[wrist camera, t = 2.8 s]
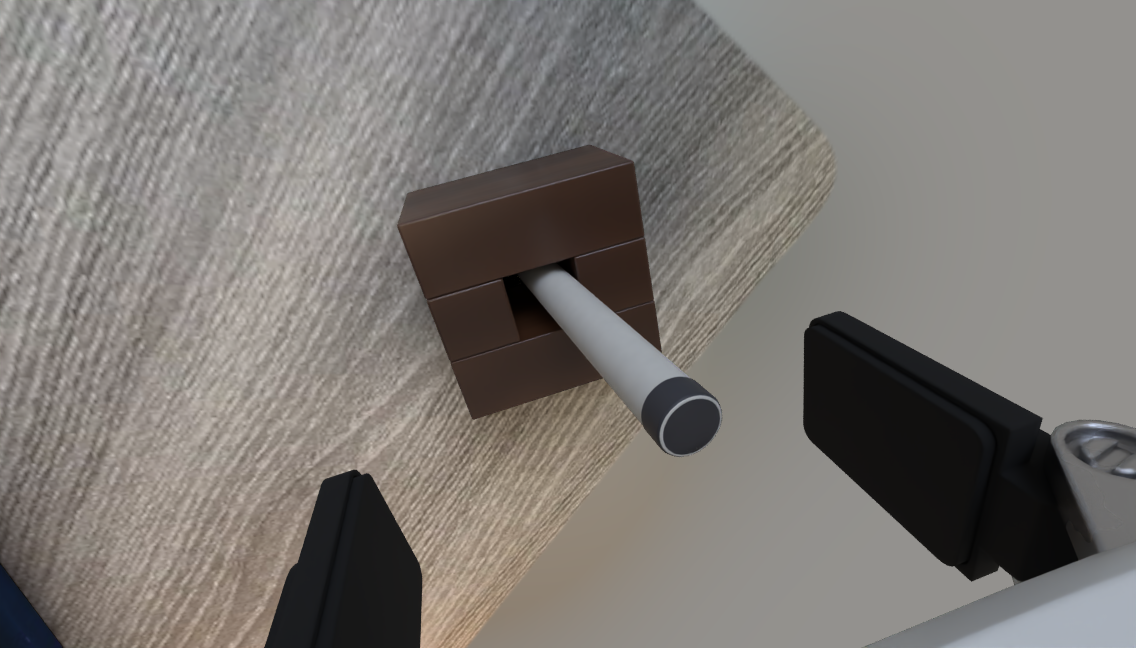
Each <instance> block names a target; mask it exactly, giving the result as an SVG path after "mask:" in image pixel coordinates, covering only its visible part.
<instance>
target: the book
mask: <svg viewBox="0 0 1136 648" xmlns="http://www.w3.org/2000/svg"><path fill="white" fill-rule="evenodd" d="M0 648H63V647H62V646H61V645H60V643H59V642H58V641H57V639H56V638H55V637H54V635H53V634H52V632H51V631H50V630H49V628H48V627H47V626H46V624H45V623H44V622H43V620H42V619H41V618H40V616H39V615H38V614H37V612H36V611H35V610H34V608H33V607H32V606H31V604H30V603H29V602H28V600H27V599H26V598H25V596H24V595H23V594H22V592H21V591H20V590H19V588H18V587H17V586H16V584H15V583H14V582H13V580H12V579H11V578H10V576H9V575H8V574H7V572H6V571H5V570H4V568H3V567H2V566H1V564H0Z"/></svg>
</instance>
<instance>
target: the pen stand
mask: <svg viewBox="0 0 1136 648" xmlns="http://www.w3.org/2000/svg"><path fill="white" fill-rule="evenodd" d="M397 228H398V230H399V233H400V235H401V238H402V240H403V243H404V245H405V248H406V251H407V253H408V256H409V258H410V261H411V263H412V266H413V268H414V271H415V274H416V276H417V279H418V281H419V284H420V286H421V289H422V291H423V294H424V297H425V298H426V299H427V304H428V307H429V309H430V312H431V314H432V317H433V319H434V322H435V325H436V327H437V330H438V332H439V335H440V337H441V340H442V342H443V345H444V348H445V350H446V353H447V355H448V358H449V360H450V361H451V366H452V369H453V371H454V374H455V376H456V379H457V381H458V384H459V386H460V389H461V392H462V394H463V397H464V399H465V402H466V404H467V407H468V409H469V412H470V415H471V417H472V419H473V420H474V419H477V418H480V417H483V416H486V415H489V414H493V413H496V412H499V411H502V410H505V409H508V408H511V407H514V406H518V405H521V404H524V403H527V402H530V401H533V400H536V399H539V398H542V397H546V396H549V395H552V394H555V393H558V392H561V391H564V390H567V389H570V388H574V387H577V386H580V385H583V384H586V383H589V382H592V381H595V380H599V379H602V378H603V377H602V376H601V375H600V374H599V372H598V371H597V370H596V369H595V368H594V366H593V365H592V364H591V363H590V362H589V360H588V359H587V358H586V357H585V356H584V354H583V353H582V352H581V351H580V350H579V348H578V347H577V346H576V345H575V344H574V342H573V341H572V340H571V339H570V338H569V336H568V335H567V334H566V333H565V332H564V330H563V329H562V328H561V327H560V326H559V324H558V323H557V322H556V321H555V320H554V318H553V317H552V316H551V315H550V314H549V312H548V311H547V310H546V309H545V308H544V306H543V305H542V304H541V303H540V302H539V301H538V299H537V298H536V297H535V296H534V295H533V293H532V292H531V291H530V290H529V289H528V287H527V286H526V285H525V284H523V285H520V286H516V287H513V288H509V289H505V285H504V282H503V279H502V278H503V277H506V276H510V275H513V274H517V273H520V272H524V271H527V270H530V269H534V268H537V267H541V266H544V265H548V264H551V263H555V262H556V263H557V264H558V265H559V266H560V267H562V268H563V269H564V270H565V271H566V272H567V273H569V274H570V275H571V276H572V277H573V278H574V279H576V280H577V281H578V282H579V283H580V284H581V285H583V286H584V287H585V288H586V289H587V290H588V291H590V292H591V293H592V294H593V295H594V296H595V297H597V298H598V299H599V300H600V301H601V302H602V303H604V304H605V305H606V306H607V307H608V308H609V309H611V310H612V311H613V312H614V313H615V314H616V315H618V316H619V317H620V318H621V319H622V320H623V321H625V322H626V323H627V324H628V325H629V326H630V327H632V328H633V329H634V330H635V331H636V332H637V333H639V334H640V335H641V336H642V337H643V338H644V339H646V340H647V341H648V342H649V343H650V344H651V345H653V346H654V347H655V348H656V349H657V350H658V351H660V352H661V353H662V350H661V344H660V337H659V330H658V323H657V316H656V309H655V302H654V297H653V290H652V283H651V276H650V269H649V262H648V256H647V249H646V242H645V238H644V237H643V236H644V229H643V222H642V215H641V208H640V201H639V194H638V187H637V180H636V174H635V167H634V162H633V161H632V160H629V159H627V158H624V157H621V156H619V155H616V154H613V153H611V152H608V151H605V150H603V149H600V148H597V147H595V146H592V145H586V146H583V147H579V148H575V149H571V150H568V151H564V152H560V153H556V154H553V155H549V156H545V157H541V158H538V159H534V160H530V161H526V162H522V163H519V164H515V165H511V166H507V167H504V168H500V169H496V170H492V171H489V172H485V173H481V174H477V175H474V176H470V177H466V178H462V179H459V180H455V181H451V182H447V183H443V184H440V185H436V186H432V187H428V188H425V189H421V190H417V191H413V192H410V193H408V194H407V196H406V199H405V202H404V206H403V209H402V212H401V215H400V218H399V221H398V225H397Z"/></svg>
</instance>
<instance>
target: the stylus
mask: <svg viewBox="0 0 1136 648" xmlns="http://www.w3.org/2000/svg"><path fill="white" fill-rule="evenodd" d="M517 275H518V277H519V278H520V279H521V280H522V281H523V283H524V284H525V285H526V286H527V287H528V289H529V290H530V291H531V292H532V293H533V295H534V296H535V297H536V298H537V299H538V301H539V302H540V303H541V304H542V305H543V306H544V308H545V309H546V310H547V311H548V312H549V314H550V315H551V316H552V317H553V318H554V320H555V321H556V322H557V323H558V324H559V326H560V327H561V328H562V329H563V330H564V332H565V333H566V334H567V335H568V336H569V338H570V339H571V340H572V341H573V342H574V344H575V345H576V346H577V347H578V348H579V350H580V351H581V352H582V353H583V354H584V356H585V357H586V358H587V359H588V360H589V362H590V363H591V364H592V365H593V366H594V368H595V369H596V370H597V371H598V372H599V374H600V375H601V376H602V377H603V378H604V380H605V381H606V382H607V383H608V384H609V386H610V387H611V388H612V389H613V390H614V392H615V393H616V394H617V395H618V396H619V398H620V399H621V400H622V401H623V402H624V404H625V405H626V406H627V407H628V408H629V410H630V411H631V412H632V413H633V414H634V416H635V417H636V418H637V419H638V420H639V421H640V423H641V424H642V425H643V427H644V429H645V430H646V431H647V433H648V434H649V435H650V436H651V437H652V439H653V440H654V441H655V442H656V443H657V445H658V446H659V447H660V448H661V449H662V450H663V451H664V452H665V453H667V454H669V455H672V456H677V457H684V456H689V455H692V454H695V453H697V452H699V451H700V450H702V449H703V448H705V447H706V446H707V445H708V444H709V443H710V442H711V441H712V440H713V438H714V437H715V436H716V434H717V432H718V430H719V428H720V425H721V421H722V410H721V407H720V404H719V402H718V401H717V399H716V398H715V397H714V396H713V395H711V394H710V393H709V392H708V391H707V390H705V389H704V388H703V387H702V386H701V385H700V384H699V383H697V382H696V381H695V380H693V379H691V378H690V377H689V376H688V375H686V374H685V373H684V372H683V371H682V370H681V369H679V368H678V367H677V366H676V365H675V364H674V363H672V362H671V361H670V360H669V359H668V358H667V357H665V356H664V355H663V354H662V353H661V352H660V351H658V350H657V349H656V348H655V347H654V346H653V345H651V344H650V343H649V342H648V341H647V340H646V339H644V338H643V337H642V336H641V335H640V334H639V333H637V332H636V331H635V330H634V329H633V328H632V327H630V326H629V325H628V324H627V323H626V322H625V321H623V320H622V319H621V318H620V317H619V316H618V315H616V314H615V313H614V312H613V311H612V310H611V309H609V308H608V307H607V306H606V305H605V304H604V303H602V302H601V301H600V300H599V299H598V298H597V297H595V296H594V295H593V294H592V293H591V292H590V291H588V290H587V289H586V288H585V287H584V286H583V285H581V284H580V283H579V282H578V281H577V280H576V279H574V278H573V277H572V276H571V275H570V274H569V273H567V272H566V271H565V270H564V269H563V268H562V267H560V266H559V265H558V264H557V263H556V262H555V263H551V264H548V265H544V266H541V267H537V268H534V269H530V270H527V271H524V272H520V273H517Z"/></svg>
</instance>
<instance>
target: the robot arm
mask: <svg viewBox="0 0 1136 648" xmlns="http://www.w3.org/2000/svg"><path fill="white" fill-rule="evenodd" d="M803 413H804V414H803V425H804V430H805V432H806V435H807V436H808V438H809V439H810V440H811V441H812V443H813V444H815V445H816V446H817V447H818V448H819V449H820V450H821V451H822V452H823V453H824V454H825V455H826V456H828V457H829V458H830V459H831V460H832V461H833V462H834V463H835V464H836V465H837V466H838V467H839V468H841V469H842V470H843V471H844V472H845V473H846V474H847V475H848V476H849V477H850V478H851V479H852V480H853V481H854V482H856V483H857V484H858V485H859V486H860V487H861V488H862V489H863V490H864V491H865V492H866V493H868V495H870V496H871V497H872V498H873V499H874V500H875V501H876V502H877V503H878V504H879V505H880V506H881V507H883V508H884V509H885V510H886V511H887V512H888V513H889V514H890V515H891V516H892V517H893V518H894V519H895V520H896V521H898V522H899V523H900V524H901V525H902V526H903V527H904V528H905V529H906V530H907V531H908V532H909V533H911V534H912V535H913V536H914V537H915V538H916V539H917V540H918V541H919V542H920V543H921V544H922V545H923V546H925V547H926V548H927V549H928V550H929V551H930V552H931V553H932V554H933V555H934V556H935V557H936V558H937V559H939V560H940V561H941V562H942V563H944V564H946V565H948V566H955V567H956V568H957V569H958V570H959V571H960V572H961V573H962V574H964V575H965V576H966V577H967V578H968V579H969V580H970V581H974V580H976V579H979V578H981V577H983V576H986V575H989V574H991V573H993V572H996V571H997V570H998V568H999V566H1000V567H1002V568H1003V569H1004V570H1005V571H1006V572H1008V573H1009V574H1010V575H1011V576H1012V579H1013V582H1014V586H1011V587H1009V588H1006V589H1004V590H1001V591H999V592H996V593H994V594H991V595H989V596H987V597H984V598H982V599H979V600H977V601H974V602H972V603H970V604H967V605H965V606H962V607H960V608H957V609H955V610H953V611H950V612H948V613H945V614H943V615H940V616H938V617H936V618H933V619H931V620H928V621H926V622H923V623H921V624H919V625H916V626H914V627H911V628H909V629H906V630H904V631H901V632H899V633H897V634H894V635H892V636H889V637H887V638H884V639H882V640H880V641H877V642H875V643H872V644H870V645H867V646H865V647H863V648H1136V428H1133V427H1129V426H1126V425H1122V424H1119V423H1112V422H1106V421H1100V420H1077V421H1071V422H1066V423H1064V424H1061V425H1059V426H1058V427H1056V428H1055V429H1054V431H1053V433H1052V434H1051V435H1049V434H1048V433H1046V432H1044V431H1042V430H1040V426H1041V422H1042V418H1041V417H1039V416H1038V415H1036V414H1034V413H1032V412H1030V411H1028V410H1026V409H1024V408H1022V407H1021V406H1019V405H1017V404H1015V403H1013V402H1011V401H1009V400H1007V399H1006V398H1004V397H1002V396H1000V395H998V394H996V393H994V392H992V391H991V390H989V389H987V388H985V387H983V386H981V385H979V384H978V383H976V382H974V381H972V380H970V379H968V378H966V377H964V376H963V375H961V374H959V373H957V372H955V371H953V370H951V369H949V368H948V367H946V366H944V365H942V364H940V363H938V362H936V361H934V360H933V359H931V358H929V357H927V356H925V355H923V354H921V353H919V352H917V351H916V350H914V349H912V348H910V347H908V346H906V345H905V344H903V343H901V342H899V341H897V340H895V339H893V338H891V337H890V336H888V335H886V334H884V333H882V332H880V331H878V330H876V329H875V328H873V327H871V326H869V325H867V324H865V323H863V322H861V321H860V320H858V319H856V318H854V317H852V316H850V315H848V314H846V313H844V312H841V311H838V312H834V313H831V314H828V315H824V316H821V317H818V318H815V319H814V320H812V321H811V323H810V325H809V328H807V329H806V330H805V333H804V411H803ZM421 606H422V573H421V568H420V565H419V562H418V560H417V558H416V557H415V555H414V553H413V551H412V549H411V547H410V546H409V544H408V542H407V540H406V538H405V536H404V535H403V533H402V531H401V529H400V527H399V525H398V524H397V522H396V520H395V518H394V516H393V515H392V513H391V511H390V509H389V507H388V505H387V504H386V502H385V500H384V498H383V496H382V494H381V493H380V491H379V489H378V487H377V485H376V483H375V482H374V480H373V478H372V477H371V475H370V474H364V475H361V474H360V472H358V471H357V470H351V471H348V472H345V473H342V474H339V475H336V476H333V477H330V478H327V479H325V480H324V481H323V482H322V484H321V487H320V491H319V494H318V497H317V501H316V504H315V507H314V511H313V514H312V517H311V520H310V524H309V527H308V530H307V534H306V537H305V540H304V544H303V547H302V550H301V554H300V557H299V560H298V563H297V564H295V565H294V566H293V567H292V568H291V569H290V571H289V573H288V576H287V578H286V581H285V584H284V587H283V590H282V594H281V597H280V600H279V603H278V606H277V609H276V613H275V616H274V619H273V622H272V625H271V628H270V632H269V635H268V638H267V641H266V644H265V647H264V648H420V635H421Z"/></svg>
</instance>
